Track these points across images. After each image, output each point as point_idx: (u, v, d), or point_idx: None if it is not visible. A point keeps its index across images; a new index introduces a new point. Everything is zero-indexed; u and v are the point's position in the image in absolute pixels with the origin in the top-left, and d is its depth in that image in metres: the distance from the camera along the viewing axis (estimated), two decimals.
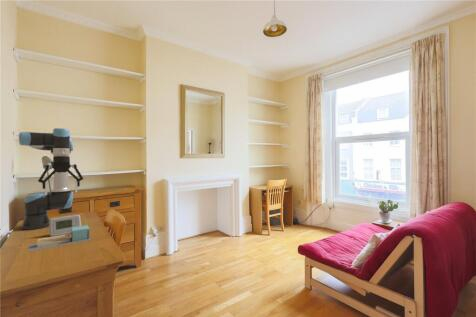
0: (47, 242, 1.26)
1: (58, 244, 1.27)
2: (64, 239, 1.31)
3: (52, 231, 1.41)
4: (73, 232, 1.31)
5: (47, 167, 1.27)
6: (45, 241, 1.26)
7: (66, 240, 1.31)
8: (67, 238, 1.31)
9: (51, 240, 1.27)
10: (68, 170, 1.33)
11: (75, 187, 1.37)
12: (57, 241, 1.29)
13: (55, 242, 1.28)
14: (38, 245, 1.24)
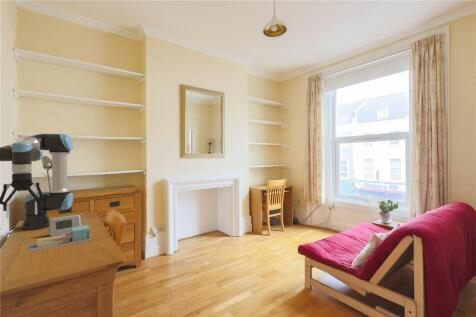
0: (47, 242, 1.26)
1: (58, 244, 1.27)
2: (64, 239, 1.31)
3: (52, 231, 1.41)
4: (73, 232, 1.31)
5: (5, 187, 1.17)
6: (45, 241, 1.26)
7: (66, 240, 1.31)
8: (67, 238, 1.31)
9: (51, 240, 1.27)
10: (28, 189, 1.22)
11: (35, 208, 1.25)
12: (57, 241, 1.29)
13: (55, 242, 1.28)
14: (38, 245, 1.24)
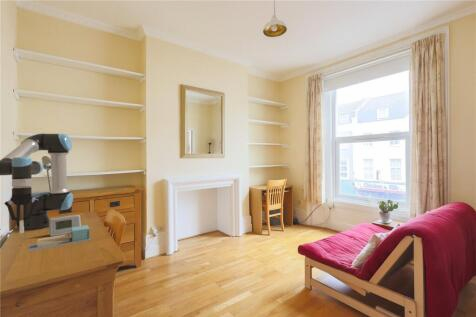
0: (47, 242, 1.26)
1: (58, 244, 1.27)
2: (64, 239, 1.31)
3: (52, 231, 1.41)
4: (73, 232, 1.31)
5: (7, 204, 1.17)
6: (45, 241, 1.26)
7: (66, 240, 1.31)
8: (67, 238, 1.31)
9: (51, 240, 1.27)
10: (25, 204, 1.21)
11: None
12: (57, 241, 1.29)
13: (55, 242, 1.28)
14: (38, 245, 1.24)
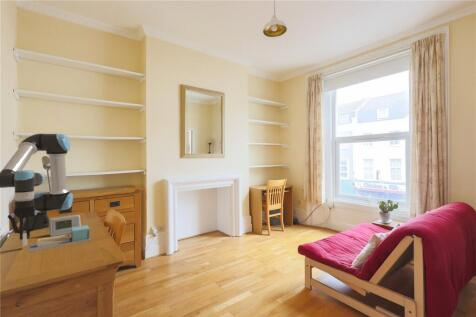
0: (47, 242, 1.26)
1: (58, 244, 1.27)
2: (64, 239, 1.31)
3: (52, 231, 1.41)
4: (73, 232, 1.31)
5: (10, 217, 1.18)
6: (45, 241, 1.26)
7: (66, 240, 1.31)
8: (67, 238, 1.31)
9: (51, 240, 1.27)
10: (28, 217, 1.21)
11: None
12: (57, 241, 1.29)
13: (55, 242, 1.28)
14: (38, 245, 1.24)
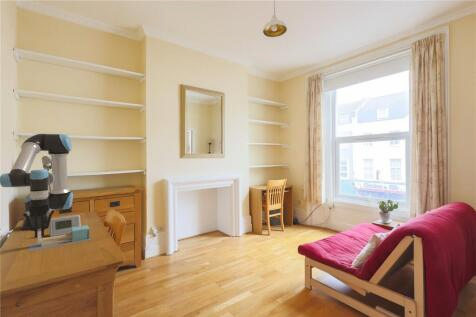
0: (50, 241, 1.27)
1: (58, 244, 1.27)
2: (68, 238, 1.32)
3: (51, 231, 1.41)
4: (73, 232, 1.31)
5: (26, 215, 1.21)
6: (49, 240, 1.26)
7: (69, 239, 1.32)
8: (70, 238, 1.32)
9: (55, 239, 1.28)
10: (42, 215, 1.25)
11: None
12: (60, 240, 1.30)
13: (58, 241, 1.29)
14: (42, 244, 1.25)
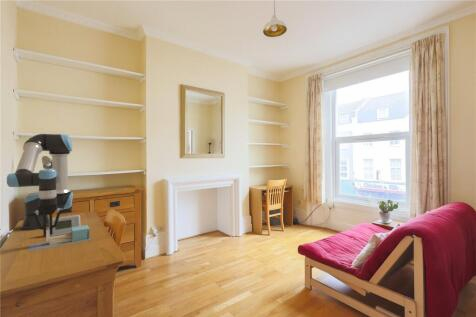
0: (58, 240, 1.29)
1: (58, 244, 1.27)
2: None
3: None
4: (73, 232, 1.31)
5: (35, 214, 1.24)
6: (57, 239, 1.29)
7: None
8: None
9: (63, 238, 1.30)
10: (51, 214, 1.27)
11: None
12: (68, 239, 1.32)
13: (66, 240, 1.31)
14: (50, 243, 1.27)
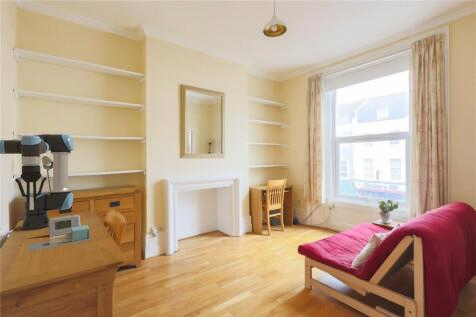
0: (58, 240, 1.29)
1: (58, 244, 1.27)
2: None
3: (51, 231, 1.40)
4: (73, 232, 1.31)
5: (17, 181, 1.20)
6: (57, 239, 1.29)
7: None
8: None
9: (63, 238, 1.30)
10: (34, 181, 1.24)
11: None
12: (68, 239, 1.32)
13: (66, 240, 1.31)
14: (50, 243, 1.27)
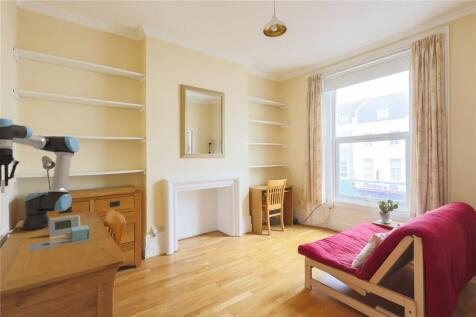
0: (58, 240, 1.29)
1: (58, 244, 1.27)
2: None
3: (51, 231, 1.40)
4: (73, 232, 1.31)
5: None
6: (57, 239, 1.29)
7: None
8: None
9: (63, 238, 1.30)
10: (6, 164, 1.24)
11: None
12: (68, 239, 1.32)
13: (66, 240, 1.31)
14: (50, 243, 1.27)
